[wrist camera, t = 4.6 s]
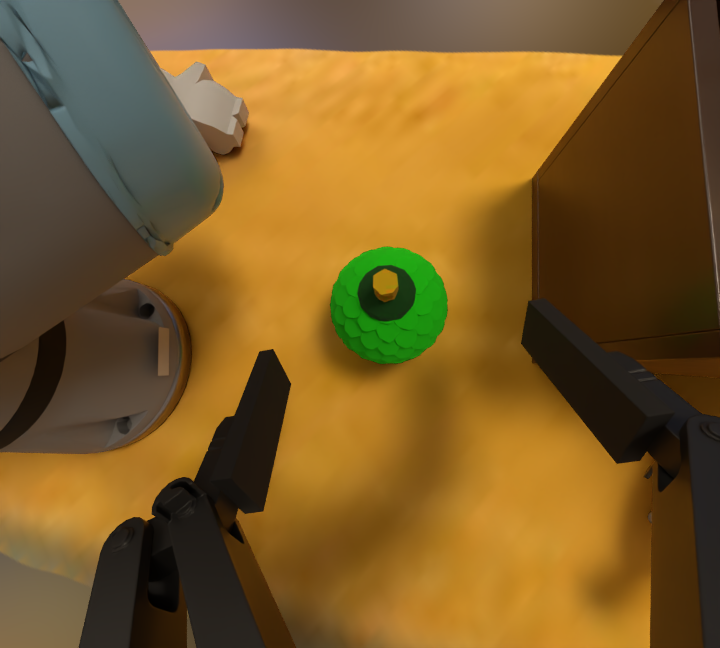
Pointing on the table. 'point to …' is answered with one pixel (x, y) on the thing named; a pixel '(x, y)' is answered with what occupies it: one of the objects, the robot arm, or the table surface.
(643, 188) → the chest
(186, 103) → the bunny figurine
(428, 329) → the ornament
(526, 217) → the table surface
